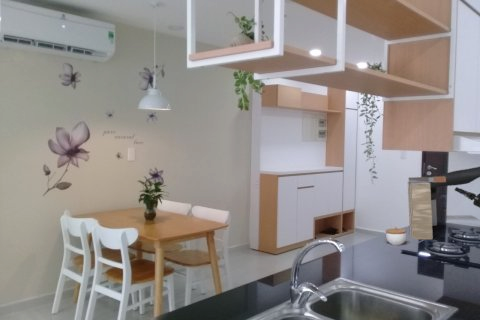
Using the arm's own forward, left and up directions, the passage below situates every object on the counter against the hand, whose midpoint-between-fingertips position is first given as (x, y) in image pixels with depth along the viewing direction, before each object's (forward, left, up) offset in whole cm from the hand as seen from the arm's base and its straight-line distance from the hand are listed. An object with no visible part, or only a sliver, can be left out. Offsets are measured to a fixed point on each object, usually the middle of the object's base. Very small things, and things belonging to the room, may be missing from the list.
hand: (457, 189), depth 245 cm
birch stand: (0, -21, -28) cm, 34 cm away
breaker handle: (0, -16, +5) cm, 16 cm away
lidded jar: (+20, -37, -28) cm, 50 cm away
